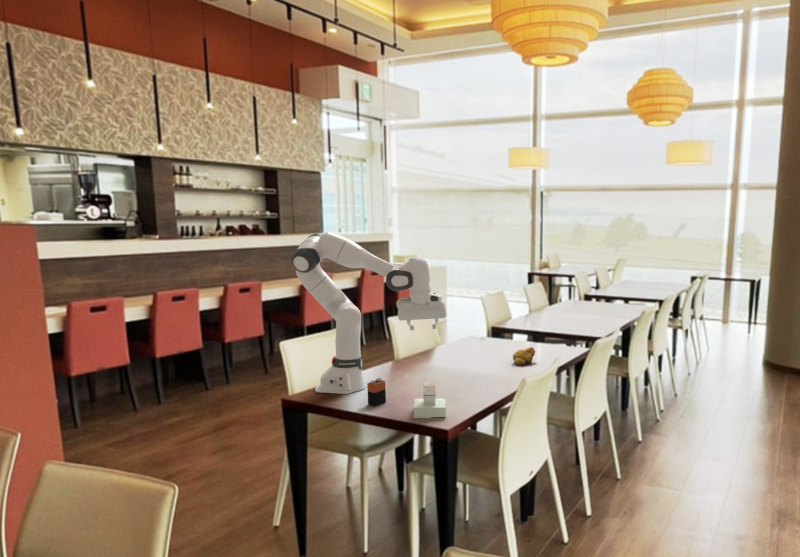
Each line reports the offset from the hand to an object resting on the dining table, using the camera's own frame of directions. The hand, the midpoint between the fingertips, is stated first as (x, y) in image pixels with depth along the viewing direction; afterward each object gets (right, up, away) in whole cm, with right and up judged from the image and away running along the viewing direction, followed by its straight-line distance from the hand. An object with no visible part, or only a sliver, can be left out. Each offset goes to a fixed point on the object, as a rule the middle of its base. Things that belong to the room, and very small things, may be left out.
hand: (423, 329), depth 232 cm
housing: (+2, -27, -18) cm, 32 cm away
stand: (+2, -31, -18) cm, 36 cm away
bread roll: (+53, -23, +53) cm, 78 cm away
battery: (-19, -30, -5) cm, 36 cm away
